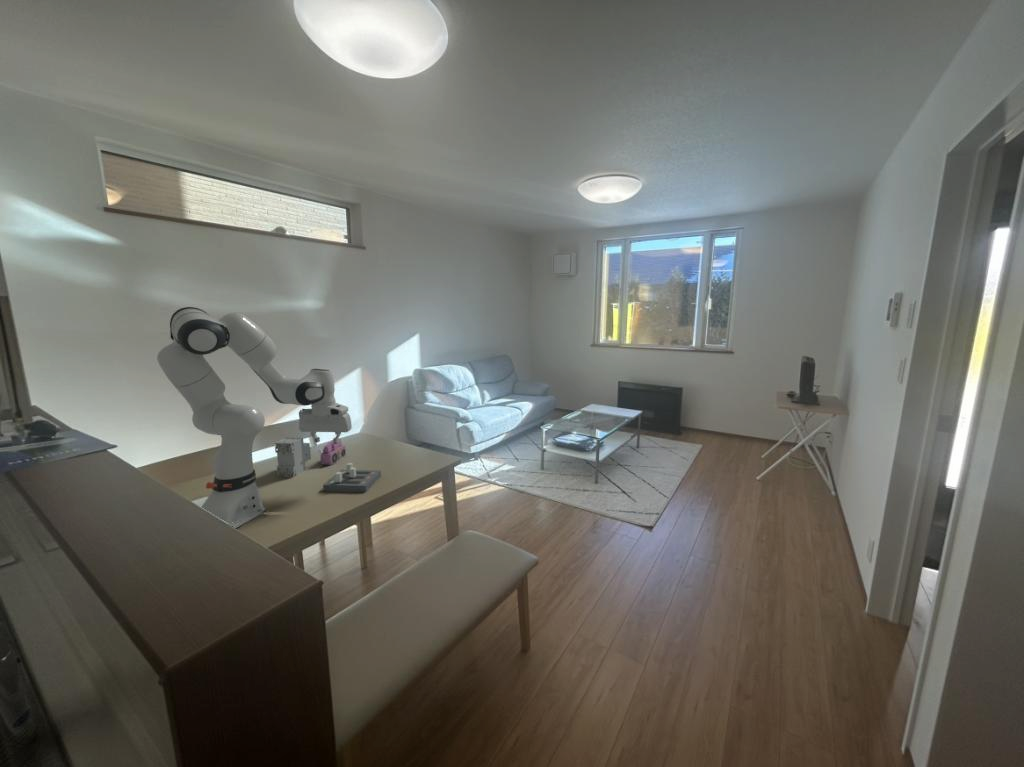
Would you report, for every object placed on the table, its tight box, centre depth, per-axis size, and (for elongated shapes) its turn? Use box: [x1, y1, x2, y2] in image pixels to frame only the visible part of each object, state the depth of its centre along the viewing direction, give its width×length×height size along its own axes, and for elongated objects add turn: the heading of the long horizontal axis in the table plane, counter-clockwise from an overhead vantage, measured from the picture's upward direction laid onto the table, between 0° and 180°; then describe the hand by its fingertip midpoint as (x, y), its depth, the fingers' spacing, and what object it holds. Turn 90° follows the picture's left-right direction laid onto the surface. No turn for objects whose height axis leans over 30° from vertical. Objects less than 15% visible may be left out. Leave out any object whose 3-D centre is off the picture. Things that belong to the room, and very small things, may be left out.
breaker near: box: [334, 471, 342, 482], centre depth 162 cm, size 2×2×4 cm
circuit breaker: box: [274, 436, 312, 478], centre depth 180 cm, size 8×14×15 cm, turn 174°
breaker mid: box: [349, 467, 357, 478], centre depth 167 cm, size 2×2×4 cm
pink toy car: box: [320, 438, 347, 466], centre depth 195 cm, size 18×6×10 cm, turn 174°
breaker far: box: [345, 462, 354, 473], centre depth 172 cm, size 2×2×4 cm
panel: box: [322, 469, 382, 493], centre depth 168 cm, size 16×17×3 cm
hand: (326, 442), depth 166 cm, fingers open, 6 cm apart
